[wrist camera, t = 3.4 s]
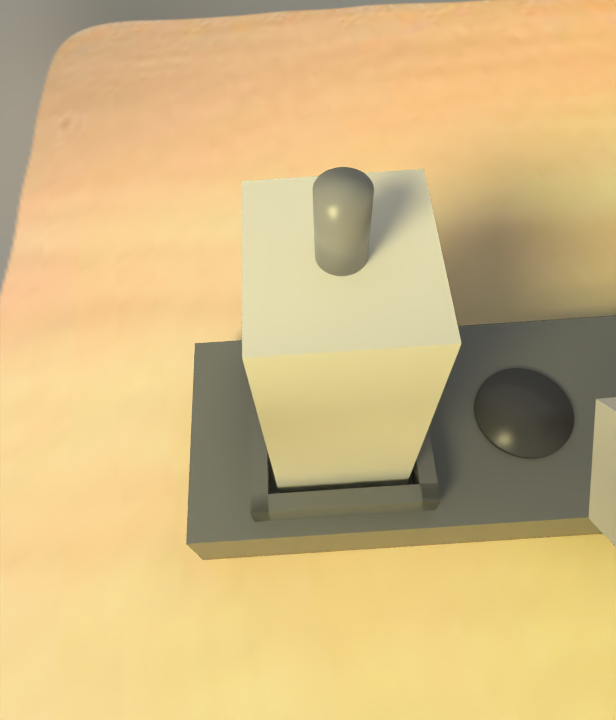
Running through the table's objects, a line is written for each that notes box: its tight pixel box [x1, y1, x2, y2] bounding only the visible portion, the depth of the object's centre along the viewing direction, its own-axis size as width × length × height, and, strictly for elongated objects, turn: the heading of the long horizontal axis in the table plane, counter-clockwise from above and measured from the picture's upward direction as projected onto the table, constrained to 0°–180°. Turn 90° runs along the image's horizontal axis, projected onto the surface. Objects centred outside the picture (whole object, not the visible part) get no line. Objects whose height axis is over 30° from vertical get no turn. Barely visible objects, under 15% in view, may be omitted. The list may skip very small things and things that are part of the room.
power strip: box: [186, 316, 616, 560], centre depth 23 cm, size 23×8×4 cm, turn 93°
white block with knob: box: [242, 167, 462, 493], centre depth 17 cm, size 4×5×12 cm
